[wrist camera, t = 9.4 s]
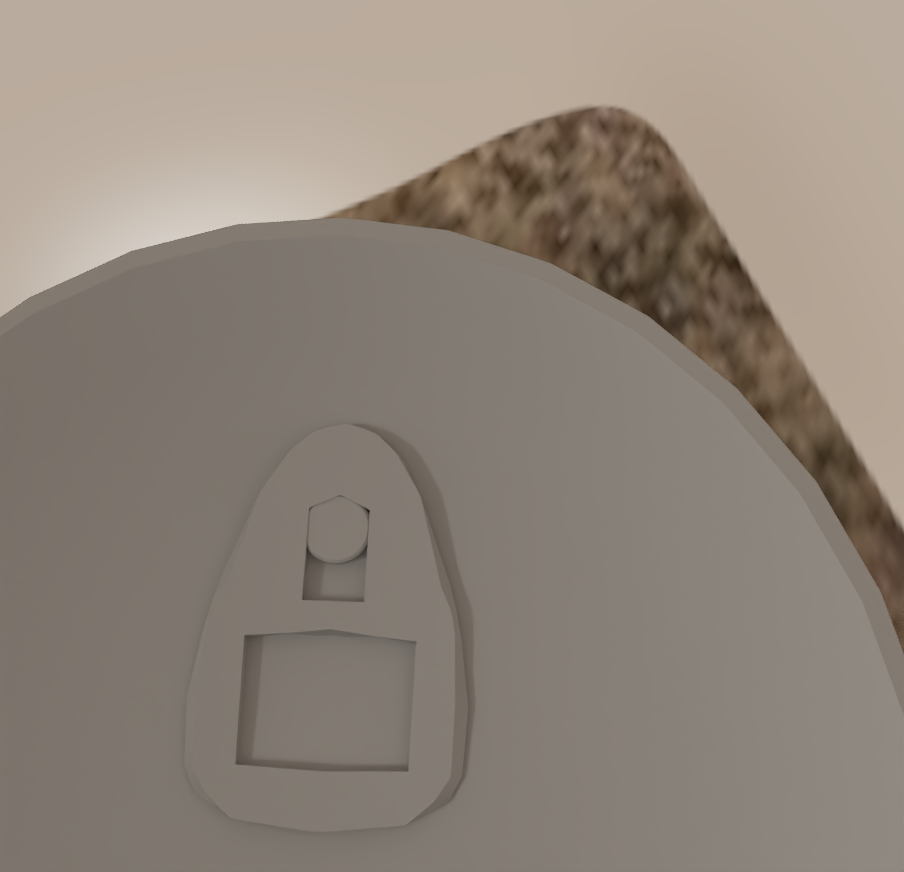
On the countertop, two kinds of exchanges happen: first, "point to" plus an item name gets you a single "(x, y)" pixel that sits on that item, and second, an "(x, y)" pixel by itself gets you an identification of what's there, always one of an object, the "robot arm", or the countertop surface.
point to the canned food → (416, 579)
